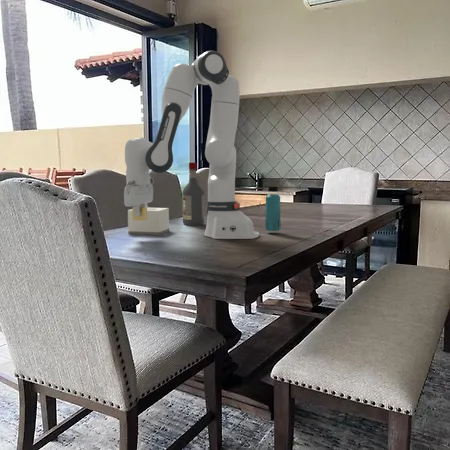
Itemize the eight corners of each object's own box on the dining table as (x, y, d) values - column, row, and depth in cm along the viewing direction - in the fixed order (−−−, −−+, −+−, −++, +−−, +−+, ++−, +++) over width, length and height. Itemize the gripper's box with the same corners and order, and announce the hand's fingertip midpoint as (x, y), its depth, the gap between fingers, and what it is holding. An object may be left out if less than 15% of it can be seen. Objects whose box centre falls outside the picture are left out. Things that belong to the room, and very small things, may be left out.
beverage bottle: (279, 234, 186) (280, 186, 183) (263, 234, 187) (264, 186, 184) (281, 232, 192) (281, 185, 190) (265, 232, 194) (266, 185, 191)
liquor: (198, 222, 225) (198, 162, 220) (205, 224, 216) (205, 162, 212) (181, 223, 221) (180, 162, 217) (187, 226, 213) (186, 162, 208)
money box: (169, 230, 199) (168, 208, 197) (159, 234, 187) (158, 210, 186) (139, 229, 202) (139, 207, 200) (128, 233, 190) (127, 210, 189)
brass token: (147, 219, 176) (146, 207, 175) (145, 220, 174) (144, 207, 173) (135, 219, 177) (134, 207, 177) (133, 220, 175) (132, 207, 174)
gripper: (134, 181, 163) (136, 219, 164) (155, 179, 182) (157, 212, 184) (118, 181, 164) (121, 219, 166) (140, 179, 184) (142, 213, 186)
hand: (140, 215), depth 175 cm, fingers closed on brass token, 2 cm apart
